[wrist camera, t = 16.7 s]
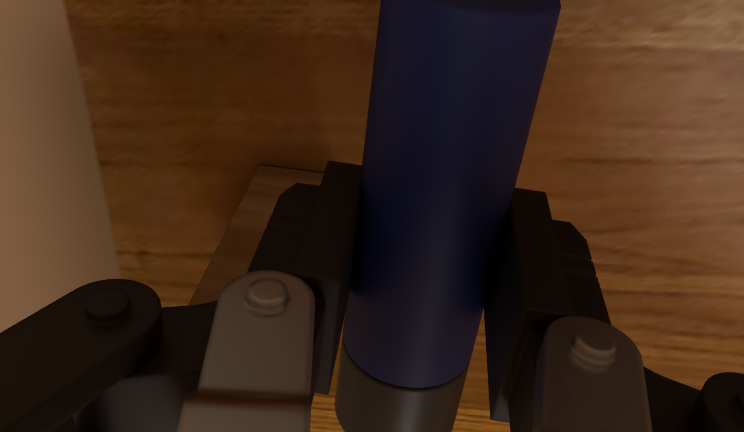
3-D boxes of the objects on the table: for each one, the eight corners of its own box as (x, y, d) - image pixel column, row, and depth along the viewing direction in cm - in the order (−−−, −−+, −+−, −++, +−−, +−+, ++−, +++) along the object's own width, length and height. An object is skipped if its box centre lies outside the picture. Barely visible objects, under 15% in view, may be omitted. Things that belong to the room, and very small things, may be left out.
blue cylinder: (392, -46, 11) (374, -5, 9) (552, -24, 11) (574, 23, 9) (344, 357, 16) (324, 448, 14) (454, 375, 16) (453, 469, 14)
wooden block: (259, 164, 34) (178, 323, 24) (338, 174, 34) (290, 339, 24) (257, 316, 39) (190, 498, 29) (326, 325, 39) (283, 512, 29)
